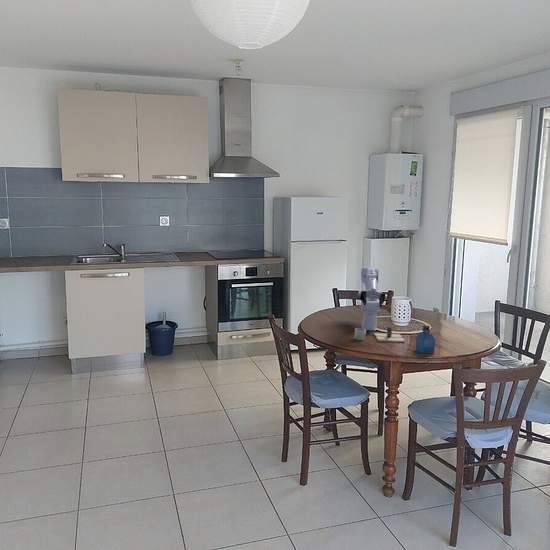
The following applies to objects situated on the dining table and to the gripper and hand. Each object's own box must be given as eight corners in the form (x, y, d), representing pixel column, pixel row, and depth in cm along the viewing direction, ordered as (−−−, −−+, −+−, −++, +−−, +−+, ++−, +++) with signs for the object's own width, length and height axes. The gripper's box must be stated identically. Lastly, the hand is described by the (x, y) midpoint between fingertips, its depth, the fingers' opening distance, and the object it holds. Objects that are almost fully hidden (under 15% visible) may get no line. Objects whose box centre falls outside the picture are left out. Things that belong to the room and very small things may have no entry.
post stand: (374, 334, 277) (374, 323, 276) (399, 335, 277) (399, 324, 276) (378, 342, 264) (379, 330, 263) (404, 342, 264) (405, 330, 263)
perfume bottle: (422, 353, 247) (424, 328, 245) (415, 349, 253) (416, 325, 251) (434, 352, 249) (435, 327, 247) (426, 348, 255) (428, 324, 253)
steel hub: (353, 337, 272) (354, 327, 271) (364, 337, 272) (364, 327, 271) (355, 340, 267) (355, 330, 266) (366, 340, 267) (366, 330, 266)
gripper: (359, 280, 275) (359, 296, 263) (387, 284, 274) (389, 300, 263) (357, 291, 279) (357, 307, 267) (385, 295, 278) (386, 311, 266)
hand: (372, 304), depth 265 cm, fingers open, 7 cm apart
